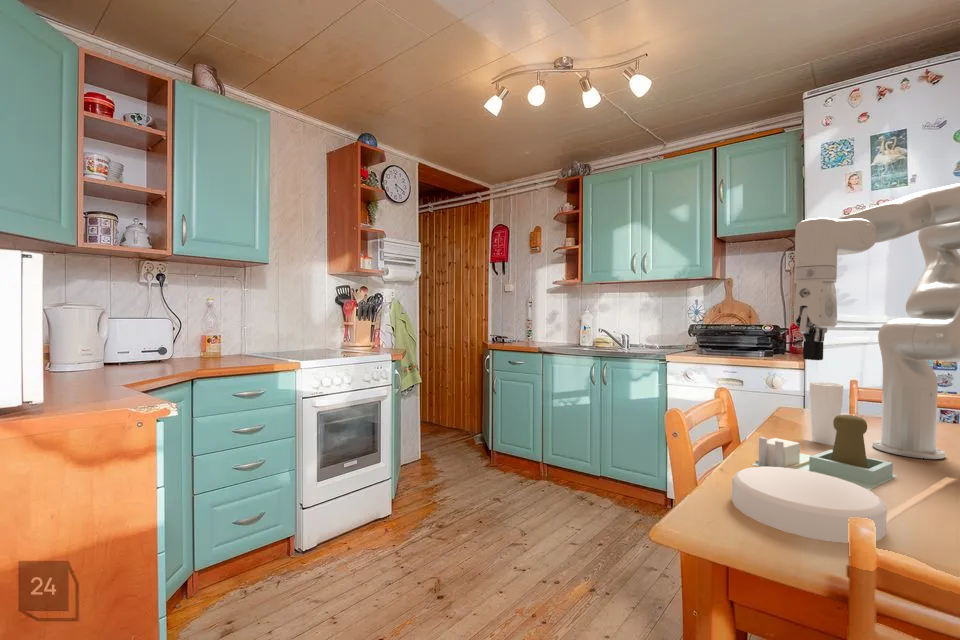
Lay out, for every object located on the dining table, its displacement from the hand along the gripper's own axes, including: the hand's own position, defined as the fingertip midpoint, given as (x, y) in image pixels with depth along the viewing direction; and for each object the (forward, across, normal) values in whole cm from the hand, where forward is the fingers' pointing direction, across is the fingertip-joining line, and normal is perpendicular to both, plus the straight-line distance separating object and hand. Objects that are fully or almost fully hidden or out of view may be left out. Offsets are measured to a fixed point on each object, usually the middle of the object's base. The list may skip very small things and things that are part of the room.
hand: (812, 359), depth 101 cm
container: (+23, -33, -12) cm, 42 cm away
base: (+22, -10, -6) cm, 25 cm away
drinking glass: (+22, +18, +4) cm, 29 cm away
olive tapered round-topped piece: (+21, -7, -9) cm, 24 cm away
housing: (+21, -14, 0) cm, 25 cm away
